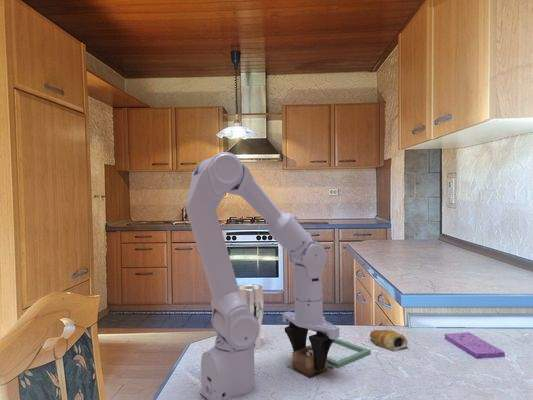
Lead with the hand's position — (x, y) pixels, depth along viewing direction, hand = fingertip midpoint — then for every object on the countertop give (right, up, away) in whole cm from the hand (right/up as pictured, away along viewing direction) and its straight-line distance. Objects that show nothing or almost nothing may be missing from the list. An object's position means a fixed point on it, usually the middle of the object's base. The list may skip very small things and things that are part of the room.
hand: (309, 364), depth 75 cm
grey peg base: (0, -2, 0) cm, 2 cm away
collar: (0, -1, 0) cm, 0 cm away
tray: (+7, -2, +7) cm, 10 cm away
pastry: (+21, -2, +14) cm, 25 cm away
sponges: (+40, -2, +12) cm, 42 cm away
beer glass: (-13, -3, +13) cm, 19 cm away
